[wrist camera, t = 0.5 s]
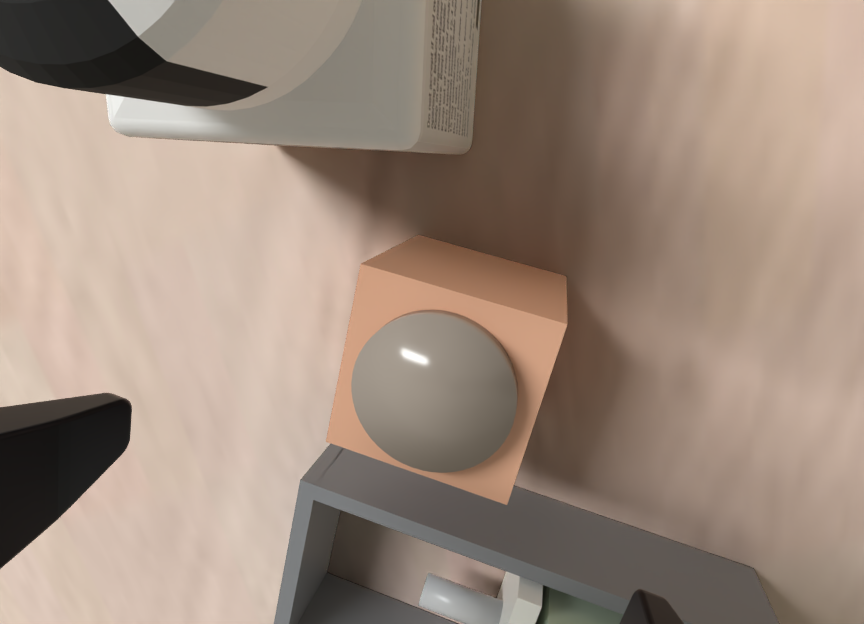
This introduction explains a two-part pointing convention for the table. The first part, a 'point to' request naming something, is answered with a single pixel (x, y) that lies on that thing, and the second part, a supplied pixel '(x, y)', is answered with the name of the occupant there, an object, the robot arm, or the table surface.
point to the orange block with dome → (448, 363)
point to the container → (261, 68)
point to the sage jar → (572, 610)
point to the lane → (496, 549)
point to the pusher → (484, 601)
